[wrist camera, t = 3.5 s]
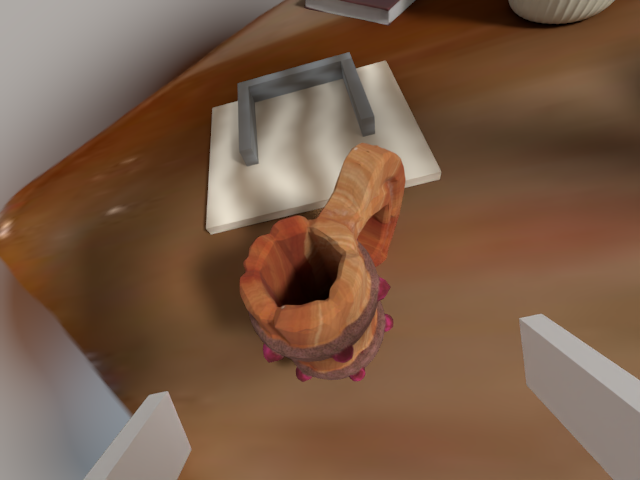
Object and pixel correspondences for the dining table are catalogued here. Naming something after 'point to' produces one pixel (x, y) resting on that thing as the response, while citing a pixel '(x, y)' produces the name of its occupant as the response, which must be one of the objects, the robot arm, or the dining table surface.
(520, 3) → the canister
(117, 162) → the dining table surface
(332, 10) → the book
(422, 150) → the notched board
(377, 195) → the mug
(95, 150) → the dining table surface
